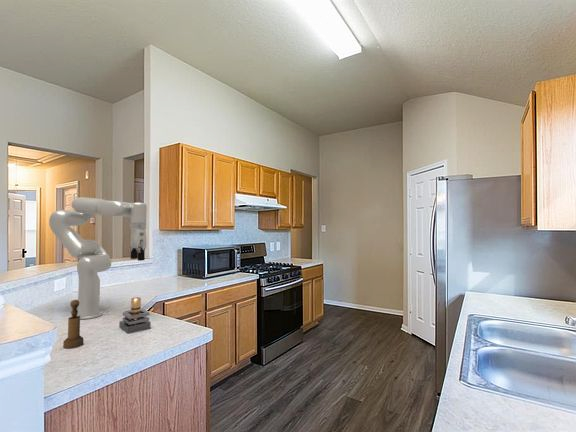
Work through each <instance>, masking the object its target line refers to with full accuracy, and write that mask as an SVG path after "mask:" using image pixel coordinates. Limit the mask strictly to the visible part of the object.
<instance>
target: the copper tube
mask: <svg viewBox="0 0 576 432" xmlns="http://www.w3.org/2000/svg"><path fill="white" fill-rule="evenodd" d="M141 305H142V298H141V297H132V298H131V302H130V310H131V315H135V314H140V313H141V309H142V308H141V307H142V306H141ZM137 319H140V317H138V318H133V319H131V320H137Z"/></svg>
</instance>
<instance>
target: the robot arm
mask: <svg viewBox="0 0 576 432" xmlns="http://www.w3.org/2000/svg"><path fill="white" fill-rule="evenodd" d="M147 205H148V204H146V203H145V202H125V201H118V200H117V201H116V200H108V199H107V200H106V199H103V198H97V197H96V198H93V197H85V196H84V197H83V196H80V197H76V198H74V199H73V200H72V201H71V209H73V210H71V209H70V210H69V209H60V210H55V211H54V212H52V213H51V214H50V216H49V220H48V224H49V228H50V230H51V232H52V233H53V235H54V236H56V237H57V239H58V240H59V241H60V242H61V244H62V246H63V247H64V248H65V249H66V250H67V252H68V253H69V254H70V256H71V257H72V258H74V259H79V260H78V261H77V263H76V271H77V274H78V275H77V277H78V289H77V290H78V291H77V292H78V293H77V294H78V297H77V298H78V299H77V300H78V301H79V306H78V307H77V311H78V313H77V316H80V320H89V319H94V318H95V319H96V318H99V317H101V316H102V315H103V314H104V313H103V311H101V310H100V300H101V299H100V298H101V297H100V295H101V294H100V292H101V279H100V276H99V275H98V273H101V272H102V273H103V272H106V271H108V270H109V269H111V266H112V259H111V257H110V255H109V254H108V253H107V251H106V250H105V249H104V248H103V246H102V245H101V244H100V242H98V241H96V240H94V239H85V238H82V236H81V235H80V234H79V233H78V232H77V230H75V229H73V228H72V227H80V226H83V225H84V224H86V223H87V222H89V221H90V220H91V219H92V218H93V217H95V216H96V215H97V216H111V217H122V218H123V217H125V218H127V217H128V218H129V217H130V219H129V221H130V224H129V229H130V231H131V232H130V260H135V259H136V260H137V261H138V262H139V261H140V262H141V261H145V258H146V257H145V255H146V254H145V253H146V249H147V243H148V242H147V218H148V217H147V215H148V214H147V212H148V211H147V210H148V207H147Z"/></svg>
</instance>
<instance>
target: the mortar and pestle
mask: <svg viewBox="0 0 576 432" xmlns="http://www.w3.org/2000/svg"><path fill="white" fill-rule="evenodd" d="M69 306H70V307H71V310H72V311H70V313H71V316H70V317H68V318H67V338H65V339H64V340H63V346H62V347H63V349H75V348H79V347H81V346H83V345H84V337H83V336H81V335H80V334H81V329H80V328H81V319H80V316H77V313H78V306H79V301H78V299H73V300H71V301H70V305H69Z"/></svg>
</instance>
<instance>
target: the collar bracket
mask: <svg viewBox="0 0 576 432" xmlns="http://www.w3.org/2000/svg"><path fill="white" fill-rule="evenodd" d="M122 316H123V317H122V320H119V324H118V325H119V327H118V328H119V329H120V330H122V331H123V332H124V333H126V334H127V335H128V334H132V333H137V332H141V331H146V330H151V321H150V317H149V316H150V312H149V311H146V310H145V309H143V308H141V313H140V314H135V315H131V309H130V310H126V311H124V312H122ZM138 317H140V319H137V320H131V319H133V318H138Z"/></svg>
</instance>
